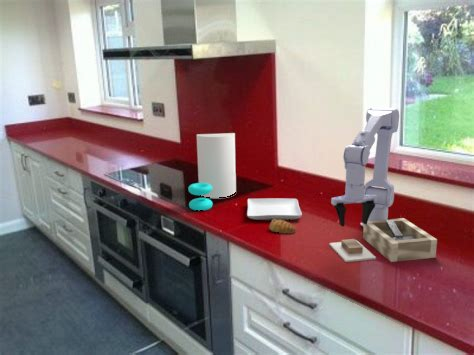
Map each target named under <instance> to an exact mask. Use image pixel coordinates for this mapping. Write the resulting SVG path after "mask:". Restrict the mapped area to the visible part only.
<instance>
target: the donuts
mask: <svg viewBox="0 0 474 355" xmlns="http://www.w3.org/2000/svg"><path fill="white" fill-rule="evenodd" d="M187 188H188V192H189V193H190V194H191V195H194V196H200V195H206V194H208V193H210V192H211V191H212V186H211V185H210V184H207V183H199V182H196V183H192V184H190V185H189V186H188V187H187ZM213 204H214V203H213V201H212V200H211V199H210V198H206V197H198V198H197V197H196V198H194V199H192V200H190V201H189V203H188V206H189V208H190V209H191V210H193V211H196V210H198V211H197V212H201V211H200V210H203V211H208V210H210V209H212V207H213Z"/></svg>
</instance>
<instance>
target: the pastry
mask: <svg viewBox="0 0 474 355" xmlns="http://www.w3.org/2000/svg"><path fill="white" fill-rule="evenodd" d="M296 228H297V227H296V226H295V225H294V224H292V223H290V222H288V221H287V220H276V219H273V220H271V222H270V223H269V228H268V229H269V230H270V231H271V232H276V233H277V232H279V233H278V234H286V233H288V234H293V233H295V232H296Z"/></svg>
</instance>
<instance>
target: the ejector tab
mask: <svg viewBox="0 0 474 355" xmlns="http://www.w3.org/2000/svg"><path fill="white" fill-rule="evenodd" d="M387 220H388V221H386V224H387V226H388V227H389V229H390V231H391V233H392V234H393V236H394V237H393V238H392V239H393V240H395V241H398V240H409V239H416V238H415V237H414V236H404V235H403V234H401V232H400V231H399V229H398V227H397V226H396V224H395V222H394V221H393V220H389V219H387Z"/></svg>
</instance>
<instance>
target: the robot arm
mask: <svg viewBox="0 0 474 355" xmlns="http://www.w3.org/2000/svg"><path fill="white" fill-rule="evenodd" d="M365 121H366V124H365V127H364V129H363V130H360V131H359V132H358V134H357V135H356V137H355V139H354V140H353V142H352V143H351V144H349V145H348V146H345V149H344V151H343V156H342V158H343V162H344V169H345V190H344V192H345V194H344V195H341V196H335V197H331V199H330V203H331V205H332V206H333V207H334V209H335V211H336V214H337V217H338V220H339V221H338V223H339V225H340V226H341V227H345V222H346V221H345V219H346V212H347V207H346V206H345V205H347V204H361V210H362V211H361V212H362V213H361V222H360V226H362V227H364V224H367V222H368V221H378V220H389V219H388V216H389V207H391V206H393V203H394V200H395V186H394V184H393V183H392V182H391V181H390V180H389V179H388V172H389V162H390V154H391V144H392V138H393V134H394V133H397V132H398V129H399V125H400V112H399V110H398V108H397V107H394V108H393V107H390V108H389V107H373V106H369V108H368V109H367V111H366V114H365ZM376 134H377V137H375V136H376ZM376 138H377V139H376ZM375 141H376V147H375V154H374V155H375V156H374V164H373V173H372V178H371V179H369V180H367V182H365V181H366V178H365V177H366V165H367V164H368V161H369V157H370V154H371V149H372V148H373V146H374V144H375Z"/></svg>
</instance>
